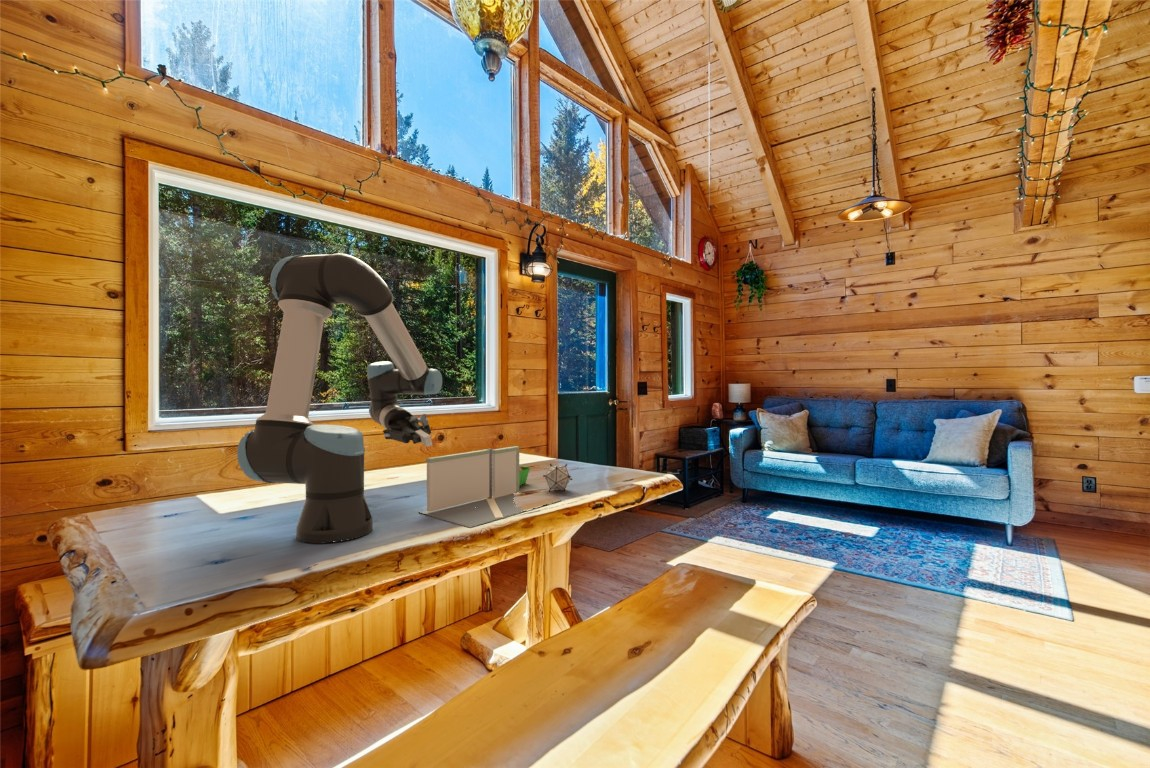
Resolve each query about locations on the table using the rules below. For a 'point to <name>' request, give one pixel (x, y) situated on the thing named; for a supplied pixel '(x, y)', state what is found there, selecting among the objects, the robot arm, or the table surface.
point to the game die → (557, 477)
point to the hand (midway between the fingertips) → (428, 441)
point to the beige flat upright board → (458, 479)
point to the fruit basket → (523, 474)
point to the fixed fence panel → (505, 471)
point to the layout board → (478, 511)
